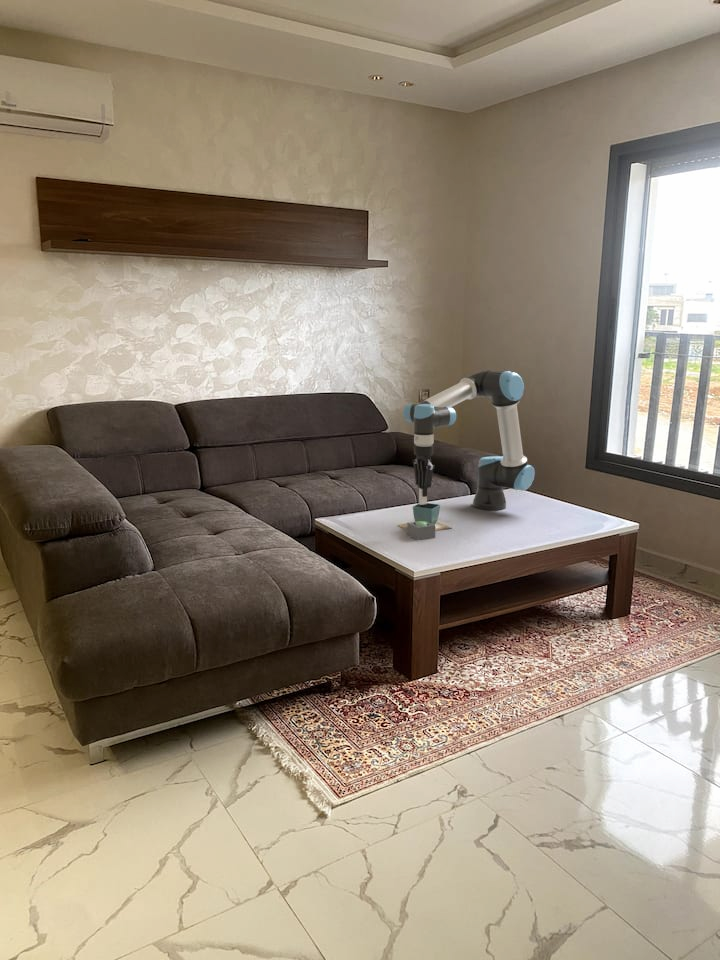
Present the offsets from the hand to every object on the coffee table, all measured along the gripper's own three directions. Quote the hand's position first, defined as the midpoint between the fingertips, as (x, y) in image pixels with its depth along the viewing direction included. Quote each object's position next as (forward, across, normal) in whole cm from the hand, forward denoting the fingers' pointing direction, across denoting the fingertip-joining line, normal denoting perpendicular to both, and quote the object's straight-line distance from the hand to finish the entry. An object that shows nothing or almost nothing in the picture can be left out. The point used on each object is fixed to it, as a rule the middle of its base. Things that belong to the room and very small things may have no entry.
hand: (422, 503), depth 295 cm
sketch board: (+13, -10, +7) cm, 18 cm away
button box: (+13, 0, -1) cm, 13 cm away
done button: (+12, 0, -1) cm, 12 cm away
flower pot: (+13, -9, +7) cm, 17 cm away
